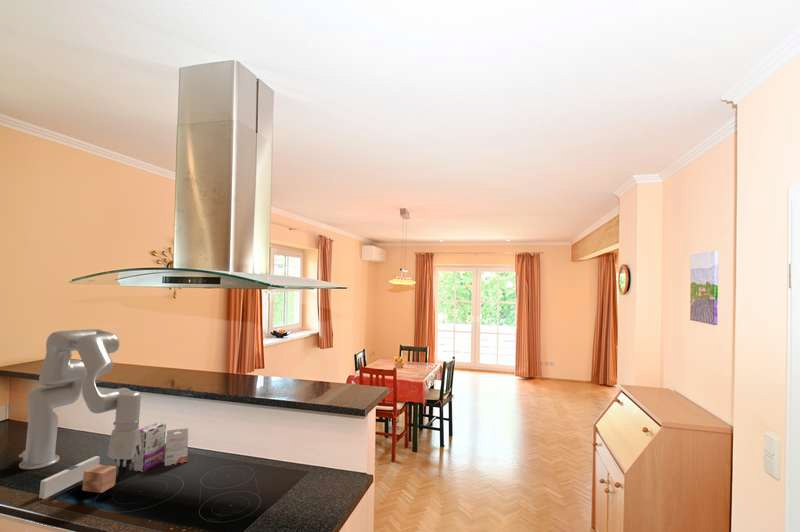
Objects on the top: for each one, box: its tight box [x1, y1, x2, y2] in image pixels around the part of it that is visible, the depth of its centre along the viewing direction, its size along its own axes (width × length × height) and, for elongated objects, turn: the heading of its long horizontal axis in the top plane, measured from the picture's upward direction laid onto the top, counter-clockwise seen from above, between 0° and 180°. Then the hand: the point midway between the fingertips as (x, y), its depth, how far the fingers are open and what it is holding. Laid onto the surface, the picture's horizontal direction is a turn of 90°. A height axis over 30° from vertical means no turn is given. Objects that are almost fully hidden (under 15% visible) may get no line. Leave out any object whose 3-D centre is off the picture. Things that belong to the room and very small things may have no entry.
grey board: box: [38, 455, 101, 500], centre depth 154 cm, size 2×22×6 cm, turn 172°
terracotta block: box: [82, 463, 118, 494], centre depth 152 cm, size 8×6×7 cm
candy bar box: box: [133, 422, 167, 473], centre depth 171 cm, size 11×5×16 cm, turn 168°
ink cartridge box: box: [164, 427, 189, 467], centre depth 176 cm, size 9×5×15 cm, turn 117°
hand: (123, 476), depth 151 cm, fingers closed
